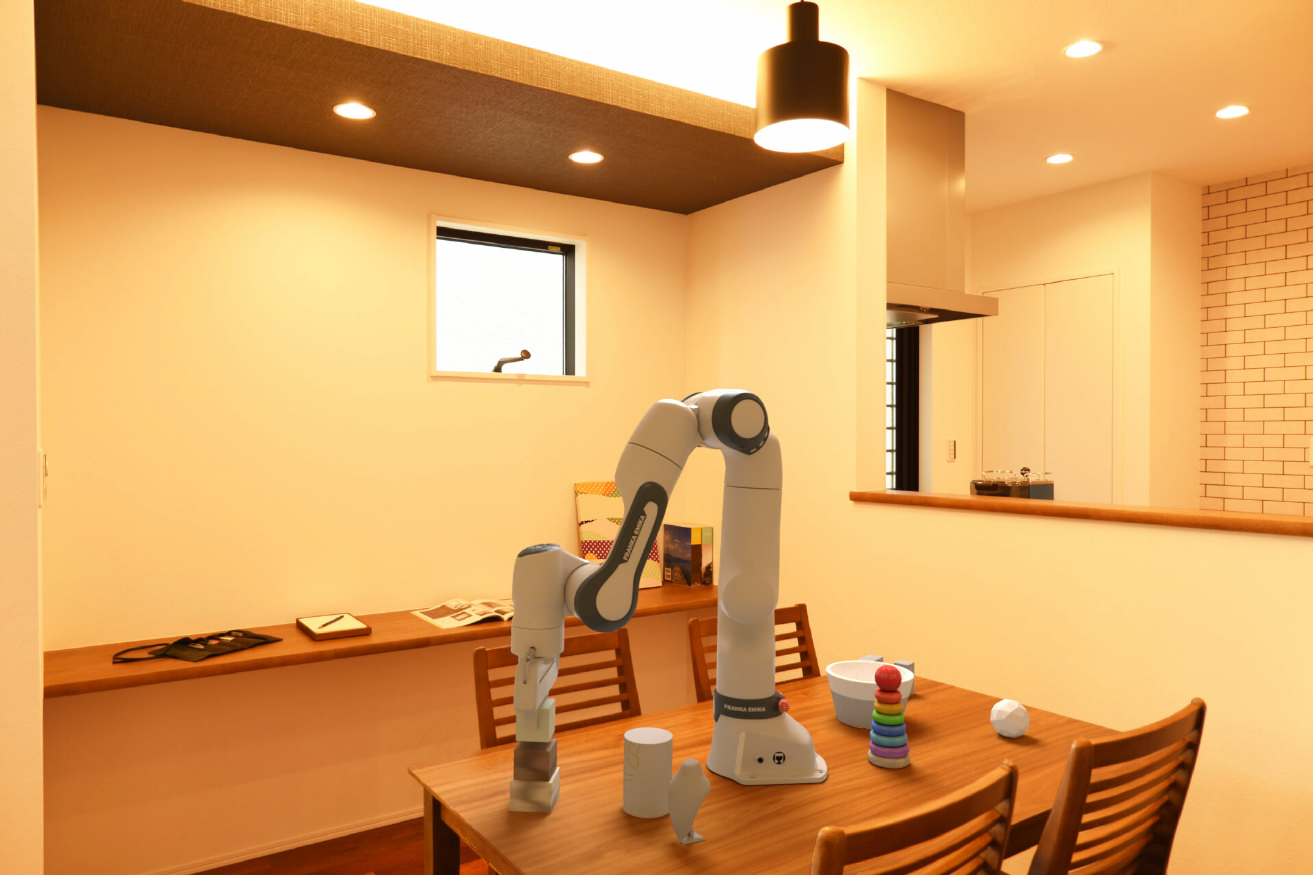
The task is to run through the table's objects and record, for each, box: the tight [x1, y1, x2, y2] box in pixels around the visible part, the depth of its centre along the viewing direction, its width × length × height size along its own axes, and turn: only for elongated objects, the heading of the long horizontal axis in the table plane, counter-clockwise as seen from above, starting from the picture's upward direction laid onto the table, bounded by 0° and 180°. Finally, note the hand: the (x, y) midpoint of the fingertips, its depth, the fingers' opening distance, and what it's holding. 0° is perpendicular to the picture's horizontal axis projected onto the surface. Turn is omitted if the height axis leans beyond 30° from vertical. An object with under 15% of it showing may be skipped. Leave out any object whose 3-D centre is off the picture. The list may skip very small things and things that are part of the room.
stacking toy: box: [867, 665, 911, 769], centre depth 166 cm, size 8×8×19 cm
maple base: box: [508, 766, 561, 814], centre depth 144 cm, size 7×7×5 cm
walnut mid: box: [512, 738, 558, 782], centre depth 145 cm, size 6×6×5 cm
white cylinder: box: [622, 726, 674, 819], centre depth 143 cm, size 8×8×12 cm
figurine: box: [668, 758, 712, 845], centre depth 132 cm, size 8×5×12 cm
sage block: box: [515, 698, 556, 742], centre depth 145 cm, size 6×6×6 cm
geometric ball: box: [990, 698, 1031, 739], centre depth 182 cm, size 8×8×8 cm
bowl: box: [825, 660, 915, 730], centre depth 192 cm, size 19×19×11 cm
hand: (536, 723), depth 145 cm, fingers closed on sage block, 5 cm apart
